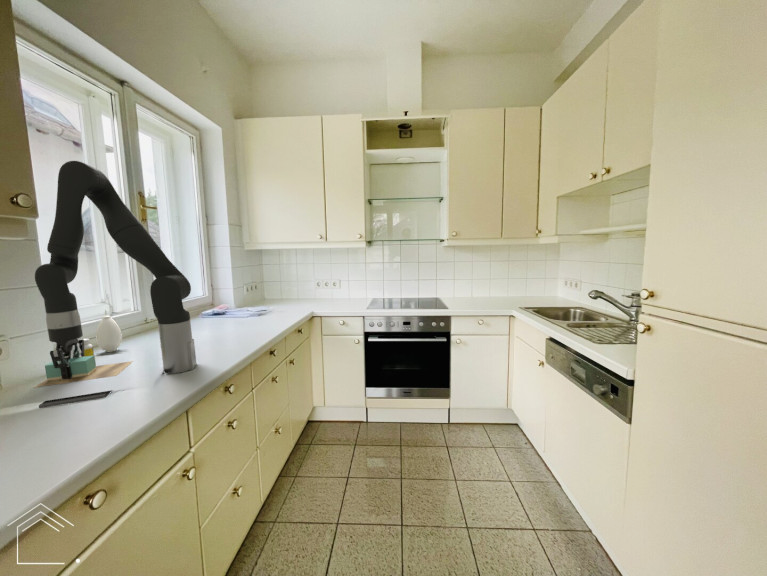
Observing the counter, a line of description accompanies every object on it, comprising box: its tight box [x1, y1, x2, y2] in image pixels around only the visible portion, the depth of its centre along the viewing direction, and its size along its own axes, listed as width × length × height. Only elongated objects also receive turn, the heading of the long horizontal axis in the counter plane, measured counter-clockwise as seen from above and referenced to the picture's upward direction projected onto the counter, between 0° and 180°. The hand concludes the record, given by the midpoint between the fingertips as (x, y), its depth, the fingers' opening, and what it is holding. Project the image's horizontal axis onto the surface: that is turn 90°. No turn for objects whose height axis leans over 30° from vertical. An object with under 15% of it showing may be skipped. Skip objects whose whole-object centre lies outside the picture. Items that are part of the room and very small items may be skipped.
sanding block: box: [44, 355, 97, 381], centre depth 99 cm, size 10×6×5 cm, turn 112°
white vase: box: [95, 309, 123, 353], centre depth 127 cm, size 8×8×18 cm
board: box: [33, 360, 134, 388], centre depth 101 cm, size 20×14×2 cm
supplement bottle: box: [82, 338, 95, 357], centre depth 112 cm, size 5×5×10 cm
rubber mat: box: [38, 390, 114, 409], centre depth 88 cm, size 14×10×1 cm
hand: (72, 374), depth 99 cm, fingers closed on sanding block, 5 cm apart
